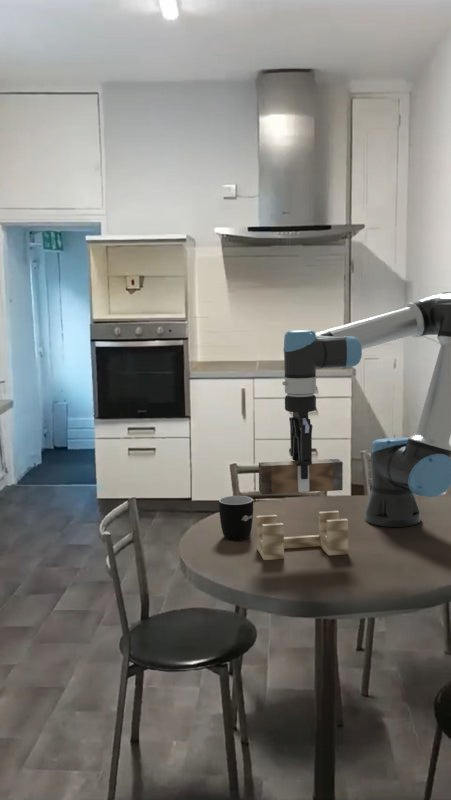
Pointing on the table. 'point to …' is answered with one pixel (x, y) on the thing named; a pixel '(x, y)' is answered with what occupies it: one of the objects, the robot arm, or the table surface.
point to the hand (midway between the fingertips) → (301, 488)
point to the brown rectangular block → (286, 476)
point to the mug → (236, 517)
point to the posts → (329, 537)
